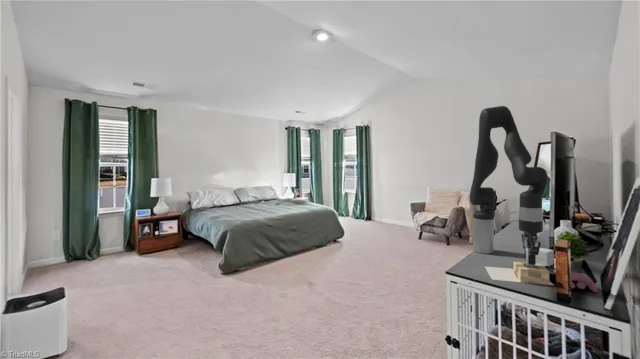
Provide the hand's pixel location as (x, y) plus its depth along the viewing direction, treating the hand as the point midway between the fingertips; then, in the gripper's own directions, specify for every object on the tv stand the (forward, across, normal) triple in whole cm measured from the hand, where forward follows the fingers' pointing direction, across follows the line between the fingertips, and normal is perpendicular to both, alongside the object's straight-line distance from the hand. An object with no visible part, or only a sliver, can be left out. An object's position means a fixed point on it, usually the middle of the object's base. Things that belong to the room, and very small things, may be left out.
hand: (530, 262), depth 112 cm
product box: (+7, -19, +10) cm, 23 cm away
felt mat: (+7, -3, -4) cm, 8 cm away
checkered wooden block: (+6, 0, 0) cm, 6 cm away
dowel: (+4, 0, 0) cm, 4 cm away
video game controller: (+7, +5, +12) cm, 15 cm away
